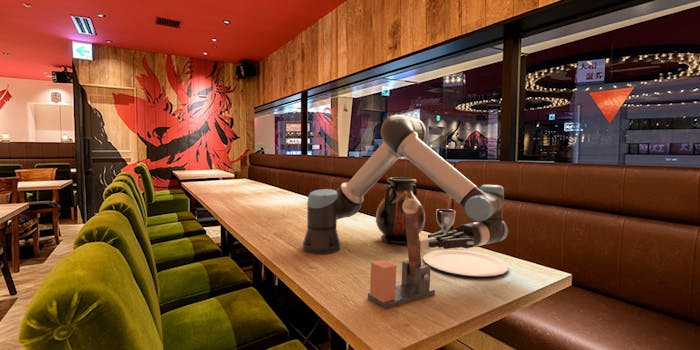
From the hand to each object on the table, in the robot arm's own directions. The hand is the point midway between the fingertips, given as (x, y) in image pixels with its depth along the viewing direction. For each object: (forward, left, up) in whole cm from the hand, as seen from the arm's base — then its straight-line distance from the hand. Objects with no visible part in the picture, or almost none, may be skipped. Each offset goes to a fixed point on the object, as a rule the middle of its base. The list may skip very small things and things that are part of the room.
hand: (418, 245), depth 101 cm
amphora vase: (+2, +56, -14) cm, 58 cm away
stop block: (-10, -7, -12) cm, 18 cm away
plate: (+22, +27, -15) cm, 37 cm away
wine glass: (+21, +53, -14) cm, 59 cm away
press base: (-5, -3, -14) cm, 15 cm away
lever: (0, 0, -8) cm, 8 cm away
